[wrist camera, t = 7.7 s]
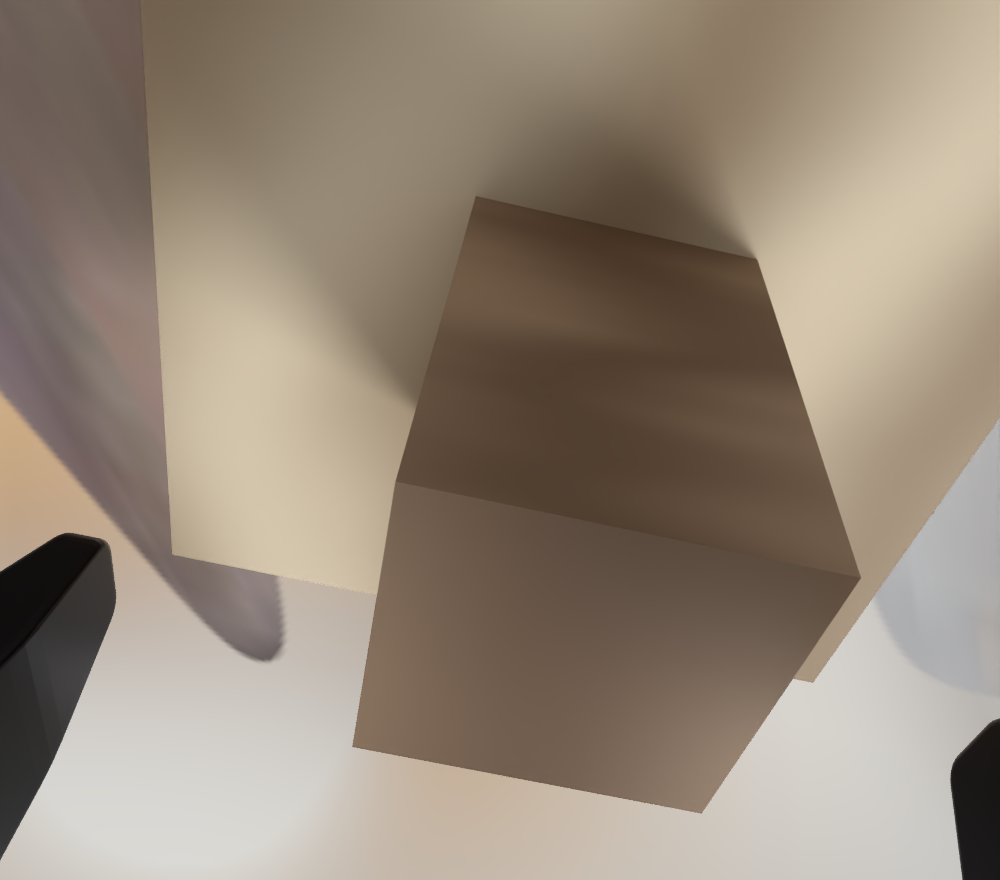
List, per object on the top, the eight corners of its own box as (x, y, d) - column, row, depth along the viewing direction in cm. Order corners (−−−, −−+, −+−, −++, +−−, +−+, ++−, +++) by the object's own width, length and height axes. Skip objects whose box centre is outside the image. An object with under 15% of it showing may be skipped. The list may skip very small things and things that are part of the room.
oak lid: (1262, -32, 10) (2011, 196, 5) (805, 651, 18) (892, 1020, 13) (152, -310, 9) (-426, -410, 4) (187, 526, 17) (7, 861, 12)
